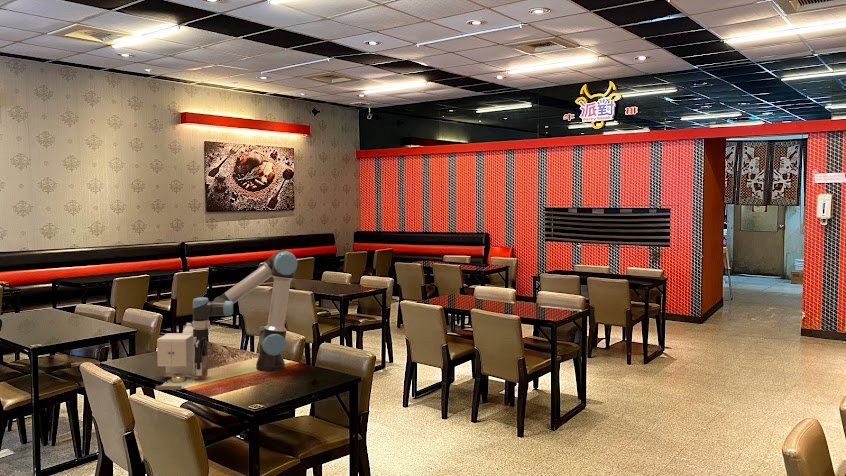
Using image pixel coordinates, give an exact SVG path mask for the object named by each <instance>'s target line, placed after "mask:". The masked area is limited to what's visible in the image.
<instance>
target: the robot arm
mask: <svg viewBox="0 0 846 476" xmlns="http://www.w3.org/2000/svg"><path fill="white" fill-rule="evenodd" d="M297 268H298V259H297V257H296V256H295V255H294V253H292V252H290V251H287V250H283V249H281V250H278V251H276V252H275V253H273V255H271V256H270V257H269V258H268V259H266V260H265V261H264V262H263V265H261V266H260V267H258V268H257V269H255V270H254V271H252V272H251V273H250V274H249V275H247V276H246V277H245V278H243V279H242V280H241V281H239V282H238V283H236V284H235V285H234V286H232V287H231V288H229V289H228V290H226V291H225V292H224V293H223V294H221V295H220V296H217V297H215V298H214V299H213V301H209V298H208V297H203V296H202V297H196V298H193V300H192V321H191V325H192V327H193V336H194V337H195V343H194V347H195V362H194V363H196V376H202V362H201V360H202V356H207V360H208V358H209V357H208V338H207V337H208V336H209V333H210V332H209V326H210V324H209V322H210V320H209V318H210V317H220V316H221V317H222V316H223V317H226V316H232V315H233V314H234V304H235V303H237V302H238V301H239V300H241V299H243V298H244V297H245V296H246V295H248V294H249V293H250V292H252V291H254V290H255V289H256V288H259V286H260V285H262V284H263V283H265V282H266V281H267V280H269V279H270V278H273V285H272V291H271V297H270V304H269V305H270V306H269V312H268V320H267V324H266V325H261V326H260V327H259V329H258V330H259V331H258V333H259V335H258V336H259V345H258V347H259V349H258V350H259V353H258V358H257V361H256V363H255V369H256V370H258V371H262V372H274V371H281V370H282V368H283V369H285V366H286V364H285V360H284V356H283V354H282V353H283V352H284V351H285V349H286V345H287V340H286V336H287V331H288V330H287V328H286V327H285V323H286V318H287V317H286V316H287V310H288V302H289V295H290V287H291V281H292V280H294V279H295V275H296V270H297Z"/></svg>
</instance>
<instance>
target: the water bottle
mask: <svg viewBox="0 0 846 476" xmlns="http://www.w3.org/2000/svg"><path fill="white" fill-rule="evenodd" d="M193 329H194V328H193V325H192V322H186V325H185V327H184V329H183V330H182V333H193ZM194 343H196V337H194ZM194 358H195V347H194Z"/></svg>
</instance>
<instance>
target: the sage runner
mask: <svg viewBox="0 0 846 476" xmlns="http://www.w3.org/2000/svg"><path fill="white" fill-rule="evenodd" d="M194 379H195V378H194V377H185V381H184V382H181V383H173V382H172V377H169V379H167V380H166V381H167V382H168V383H167V382H166V381H165V382H163V384H160V385H156V386H155V390H156V391H157V390H162V391H163V390H167V391H170V390H173V391H174V390H176V391H177V390H181V391H182V389H184V388H185V387H186V386H187V385H188V384H190V383H192V381H193V380H194Z"/></svg>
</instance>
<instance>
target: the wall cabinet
mask: <svg viewBox="0 0 846 476" xmlns="http://www.w3.org/2000/svg"><path fill="white" fill-rule="evenodd" d="M156 341H157V342H156V346H157V348H156V349H157V352H156V354H157V367H165V373H194V336H193V333H183V332H181V333H179V332H176V333H175V332H173V333H165V334H164V335H163V336H160V337H159V338H157V340H156Z"/></svg>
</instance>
